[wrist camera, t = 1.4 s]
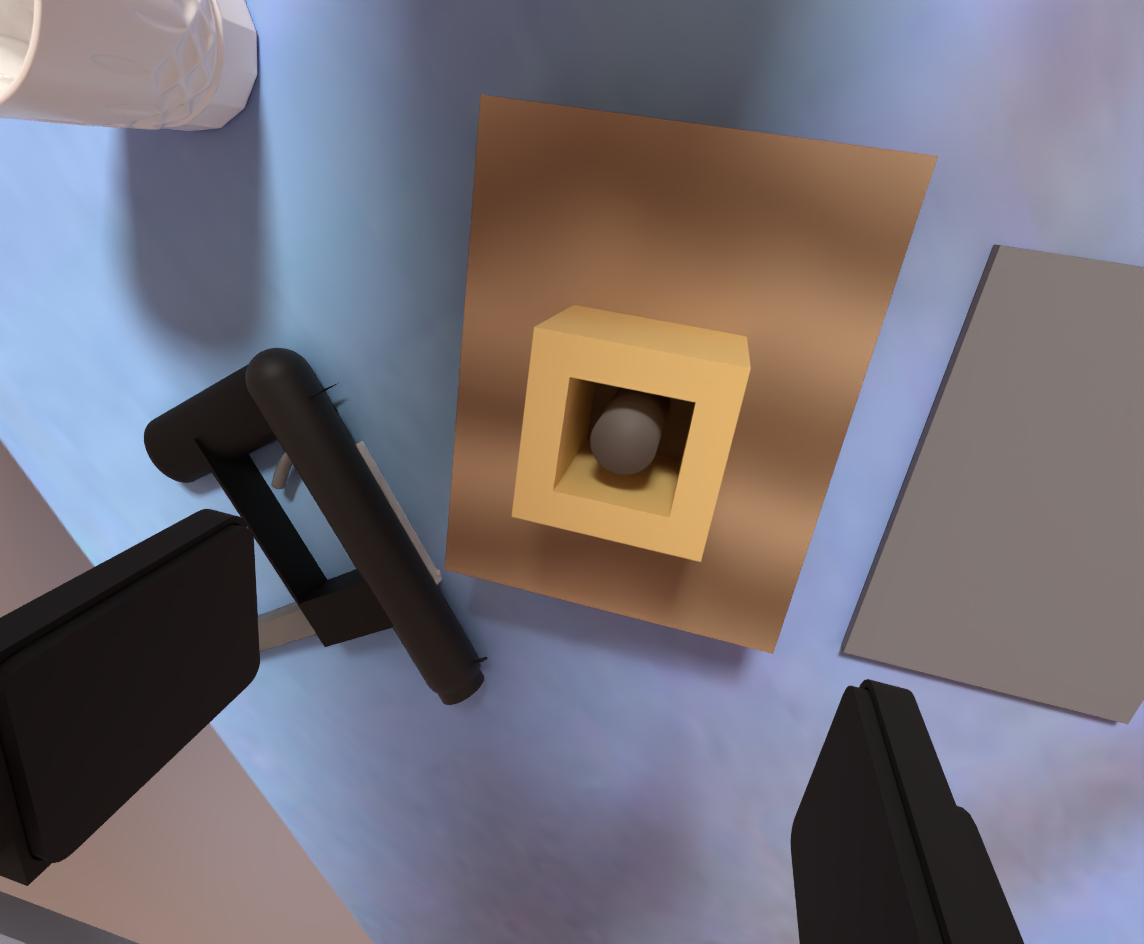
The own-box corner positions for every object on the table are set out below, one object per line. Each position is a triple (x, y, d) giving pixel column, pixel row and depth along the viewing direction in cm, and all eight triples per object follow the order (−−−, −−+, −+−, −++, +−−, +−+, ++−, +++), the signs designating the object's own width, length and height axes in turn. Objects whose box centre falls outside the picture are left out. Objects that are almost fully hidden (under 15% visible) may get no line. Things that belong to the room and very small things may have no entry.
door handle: (277, 745, 39) (492, 699, 33) (74, 456, 34) (279, 334, 28) (312, 707, 42) (515, 657, 36) (129, 435, 37) (326, 321, 31)
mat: (994, 244, 23) (1000, 245, 23) (1377, 303, 22) (1394, 305, 21) (841, 644, 30) (843, 652, 30) (1120, 714, 29) (1127, 724, 28)
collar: (574, 304, 23) (534, 327, 18) (746, 336, 22) (750, 368, 17) (551, 462, 25) (511, 516, 20) (706, 496, 24) (700, 562, 19)
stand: (525, 116, 25) (419, 64, 17) (897, 168, 23) (995, 139, 15) (484, 520, 32) (395, 629, 24) (767, 588, 30) (780, 736, 22)
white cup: (301, 111, 27) (87, 60, 18) (161, 170, 30) (-90, 150, 21) (222, -110, 25) (-69, -296, 16) (77, -27, 27) (-249, -149, 18)
